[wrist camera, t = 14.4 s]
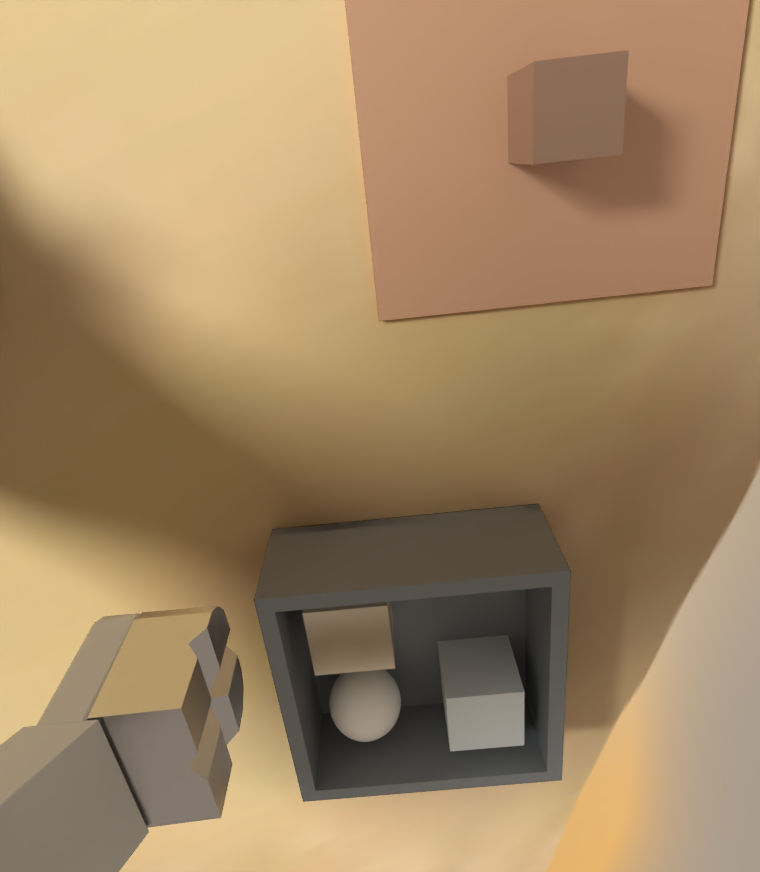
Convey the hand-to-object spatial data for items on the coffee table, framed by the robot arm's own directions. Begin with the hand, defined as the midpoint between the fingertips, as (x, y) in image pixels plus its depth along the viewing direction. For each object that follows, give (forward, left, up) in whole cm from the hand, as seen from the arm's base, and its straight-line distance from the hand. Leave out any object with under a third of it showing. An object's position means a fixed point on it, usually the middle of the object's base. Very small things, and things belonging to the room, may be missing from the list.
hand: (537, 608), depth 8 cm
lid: (-6, +5, -21) cm, 23 cm away
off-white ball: (+22, -5, -20) cm, 30 cm away
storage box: (+19, -2, -20) cm, 28 cm away
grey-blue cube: (+22, +2, -20) cm, 30 cm away
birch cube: (+16, -5, -20) cm, 26 cm away
